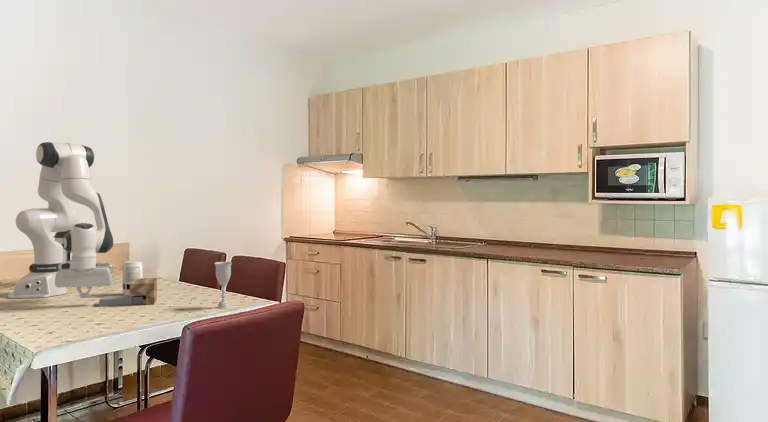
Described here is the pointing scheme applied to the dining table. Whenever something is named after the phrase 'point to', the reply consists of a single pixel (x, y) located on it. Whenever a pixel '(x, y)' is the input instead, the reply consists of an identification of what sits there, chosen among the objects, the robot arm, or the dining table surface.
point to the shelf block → (145, 289)
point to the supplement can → (131, 274)
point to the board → (120, 300)
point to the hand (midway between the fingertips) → (84, 297)
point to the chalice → (223, 280)
